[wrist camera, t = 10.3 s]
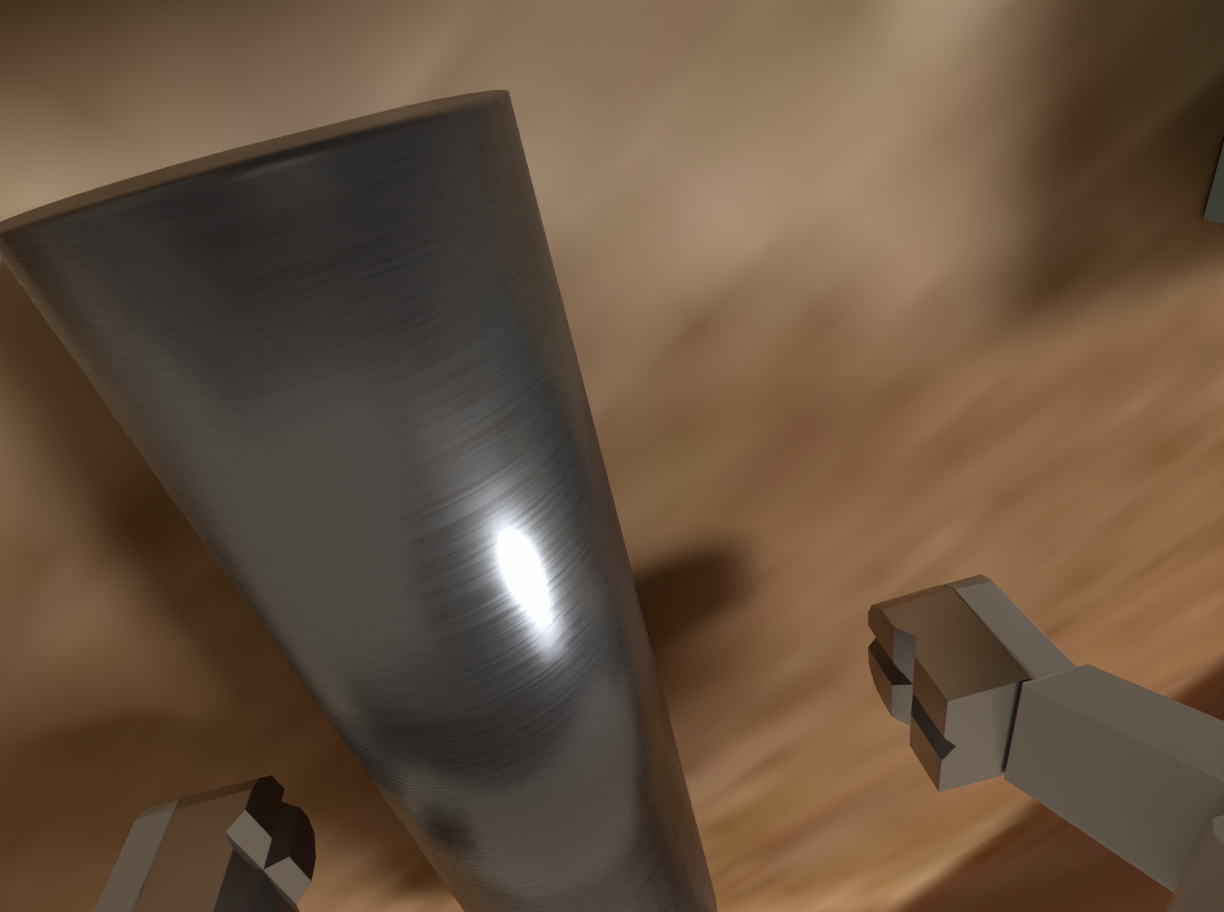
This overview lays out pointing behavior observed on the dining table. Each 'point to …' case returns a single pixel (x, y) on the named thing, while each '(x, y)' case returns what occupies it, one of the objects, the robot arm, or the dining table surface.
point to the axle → (396, 479)
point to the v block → (1217, 195)
